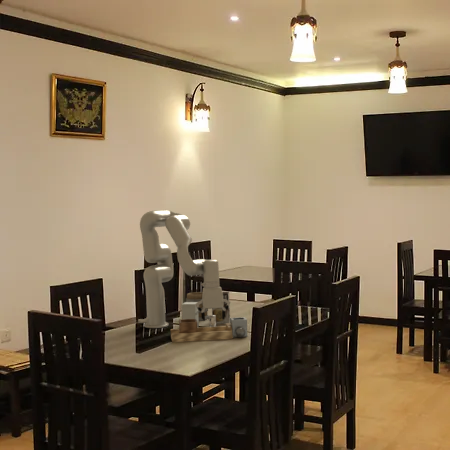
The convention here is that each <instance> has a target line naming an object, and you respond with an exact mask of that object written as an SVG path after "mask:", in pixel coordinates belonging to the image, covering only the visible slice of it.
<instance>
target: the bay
mask: <svg viewBox="0 0 450 450" xmlns="http://www.w3.org/2000/svg"><path fill="white" fill-rule="evenodd" d="M233 338H234V337H233V336H232V327H231V325H230V323H226V324H225V325H220V326H216V327H210V326H204V327H200V326H199V327H198V332H196V333H179V328H171V329H170V339H171V342H172V343H177V342H178V343H180V342H183V343H184V342H197V341H200V342H201V341H212V340H215V341H216V340H232V339H233Z"/></svg>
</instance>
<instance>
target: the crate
mask: <svg viewBox="0 0 450 450" xmlns="http://www.w3.org/2000/svg"><path fill="white" fill-rule="evenodd" d="M198 328H199V326H197V320H196V319H182V318H181V319H178V329H179V333H196V332H198Z"/></svg>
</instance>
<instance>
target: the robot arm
mask: <svg viewBox="0 0 450 450" xmlns="http://www.w3.org/2000/svg"><path fill="white" fill-rule="evenodd" d="M139 221H140V222H139V230H140V233H141V239H142V249H143V256H144V260H145V261H146V262H147V263H149V264H155V263H157V264H155V265H150V266H148V267H146V268H145V269H144V272H143V280H144V286H145V296H146V297H145V298H146V303H145V305H146V318H144V319H143V318H140V319H139V318H138V320H137V323H138V324H144V325H143V326H144V328H147V329H162V328H166V327H169V322H167V321H166V301H165V300H166V297H165V289H164V286H163V284H162V283H166V282H167V283H168V282H169V281H171V280H172V279H173V277H174V264H173V254H172V250H171V248H170V246H168V245H167V244H165V243H160V239H159V234H158V231H157V230H156V228H162V227H165V229H166V230H167V232H168V233H169V235H170V237H171V239H172V240H173V242H174V244H175V246H176V256H177V261H178V263H179V265H180V267H181V269H182V270H183V272H184V273H185V274H186V275H187V276H189V277H193V276H197V275H198V276H199V275H203V282H202V283H201V284H200V286H201V287H203V288H202V292H203V294H202V300H201V301H199V302H198V303H196V304H195V305H196V307H197V309H198V310H199V311H200V312H201V315H202V319H203V322H205V321H206V320H205V313H204V311H205V309H208V310H212V309H213V308H222V309H223V310H222V319H225V318H224V317H226V314H225V311H226V310H227V308H228V307H229V305H230V306H231V301H230V300H229V301H228V300H226V299H223V293H222V292H223V289H222V287H221V286H220V285H221V284H220V270H219V268H220V267H219V261H218V259H205V258H199V259H198V258H197V259H193V258H192V257H191V255H190V253H189V246H190V244H192V242H193V238H192V236H191V235H190V233H189V232H188V230H189V229H190V227H191V222H190V221H191V220H190V219H189V217H187V216H186V215H185V214H181V213H178V212H176V211H175V212H174V211H171V210H166V209H165V210H164V209H163V210H151V211H150V210H149V211H147V212H145V213H144V214H143V215H142V217H141V218H140V219H139ZM223 301H224V302H226V303H227V305H226V306H225V307H223V306H224V302H223ZM201 303H202V304H203V308H202V309H201V308H200V307H199V305H200V304H201Z"/></svg>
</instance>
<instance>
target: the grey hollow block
mask: <svg viewBox="0 0 450 450" xmlns="http://www.w3.org/2000/svg"><path fill="white" fill-rule="evenodd" d="M229 324H230V325H231V327H232V336H233V338H241V339H242V338H245V337H246V338H247V337H248V319H247V318H246V317H245V316H243V317H242V316H241V317H230V323H229Z"/></svg>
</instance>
